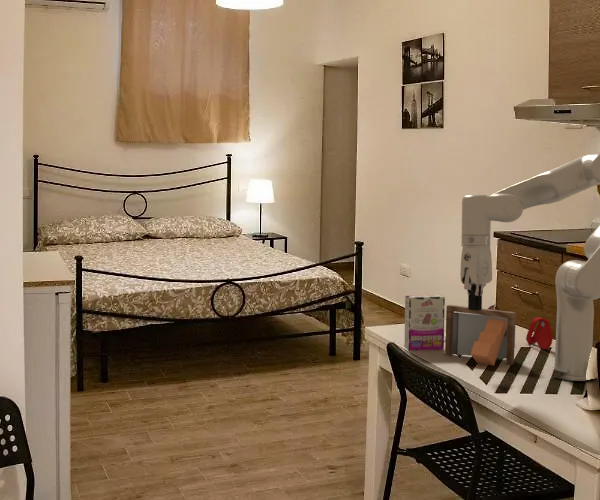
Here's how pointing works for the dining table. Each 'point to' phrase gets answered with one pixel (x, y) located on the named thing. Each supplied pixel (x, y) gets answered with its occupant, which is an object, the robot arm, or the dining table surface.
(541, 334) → the tracker holder
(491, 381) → the dining table surface
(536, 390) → the dining table surface
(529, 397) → the dining table surface
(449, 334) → the brown door frame
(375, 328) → the dining table surface
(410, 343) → the candy bar box
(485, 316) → the door
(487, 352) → the orange stepped block
